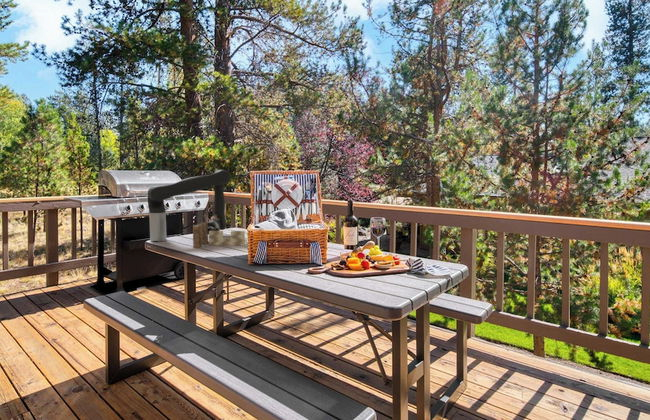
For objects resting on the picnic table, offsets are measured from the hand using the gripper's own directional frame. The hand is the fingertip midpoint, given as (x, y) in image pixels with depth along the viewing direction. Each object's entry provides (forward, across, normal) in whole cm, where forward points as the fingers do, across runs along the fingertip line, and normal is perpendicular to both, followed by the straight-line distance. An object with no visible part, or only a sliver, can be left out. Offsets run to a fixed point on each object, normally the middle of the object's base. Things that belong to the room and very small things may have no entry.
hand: (203, 231), depth 246 cm
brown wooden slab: (+5, 0, +7) cm, 9 cm away
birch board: (+5, +15, +7) cm, 17 cm away
